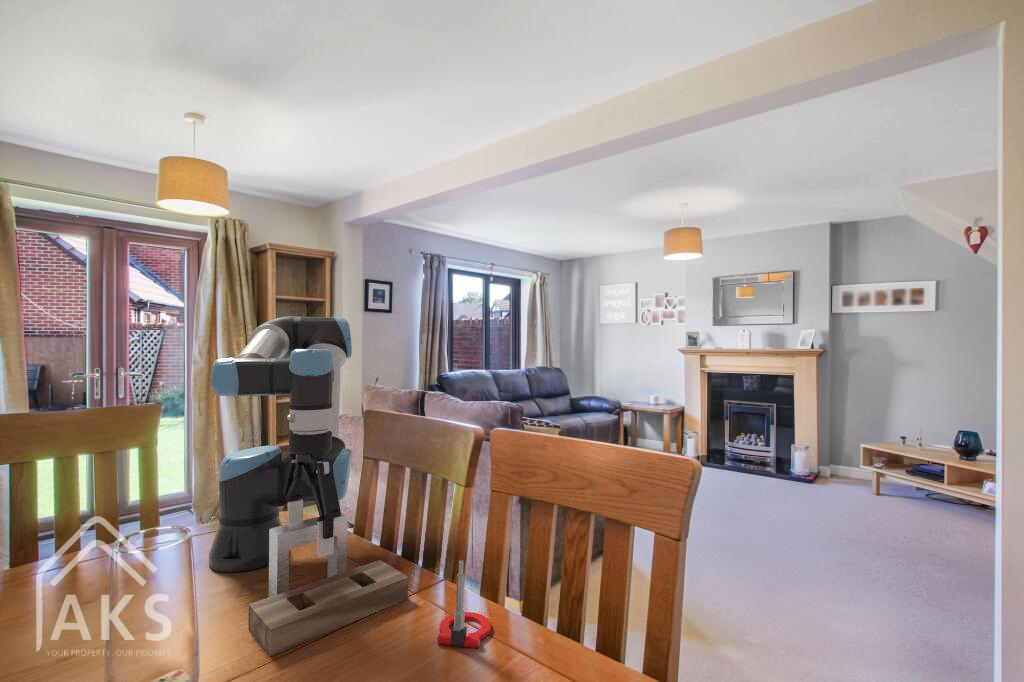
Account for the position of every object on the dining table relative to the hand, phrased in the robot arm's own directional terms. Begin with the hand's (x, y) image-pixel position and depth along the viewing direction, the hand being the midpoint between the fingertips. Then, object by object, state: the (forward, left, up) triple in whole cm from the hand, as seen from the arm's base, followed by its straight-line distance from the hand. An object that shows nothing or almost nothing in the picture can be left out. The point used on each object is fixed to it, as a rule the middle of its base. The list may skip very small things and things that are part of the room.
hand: (309, 544), depth 92 cm
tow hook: (+30, +13, -9) cm, 34 cm away
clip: (0, 0, -9) cm, 9 cm away
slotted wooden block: (+10, 0, -9) cm, 13 cm away
